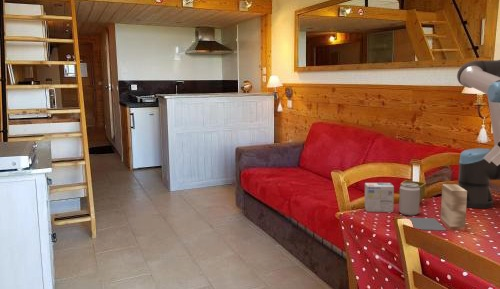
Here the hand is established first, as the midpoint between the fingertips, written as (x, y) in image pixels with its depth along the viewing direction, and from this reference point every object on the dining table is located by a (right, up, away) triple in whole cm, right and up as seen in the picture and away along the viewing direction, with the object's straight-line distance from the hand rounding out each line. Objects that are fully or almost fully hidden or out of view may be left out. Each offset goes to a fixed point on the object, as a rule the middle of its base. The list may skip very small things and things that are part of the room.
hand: (489, 161), depth 143 cm
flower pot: (-15, -20, +32) cm, 40 cm away
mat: (-22, -23, +5) cm, 32 cm away
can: (-22, -21, +18) cm, 35 cm away
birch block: (-12, -23, +3) cm, 26 cm away
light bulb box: (-32, -21, +23) cm, 45 cm away
